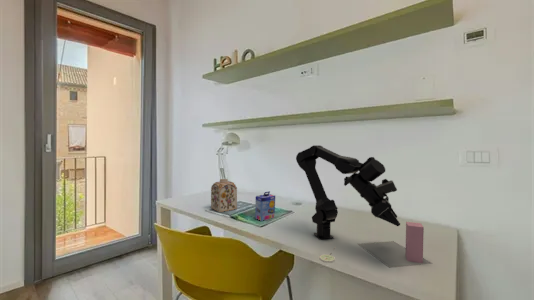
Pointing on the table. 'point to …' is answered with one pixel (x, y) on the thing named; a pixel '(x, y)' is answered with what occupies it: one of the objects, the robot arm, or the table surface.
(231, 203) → the decorative jar
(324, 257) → the sign
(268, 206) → the ink cartridge box
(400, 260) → the mat
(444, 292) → the table surface
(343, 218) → the table surface
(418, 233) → the pink box
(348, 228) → the table surface
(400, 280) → the table surface
